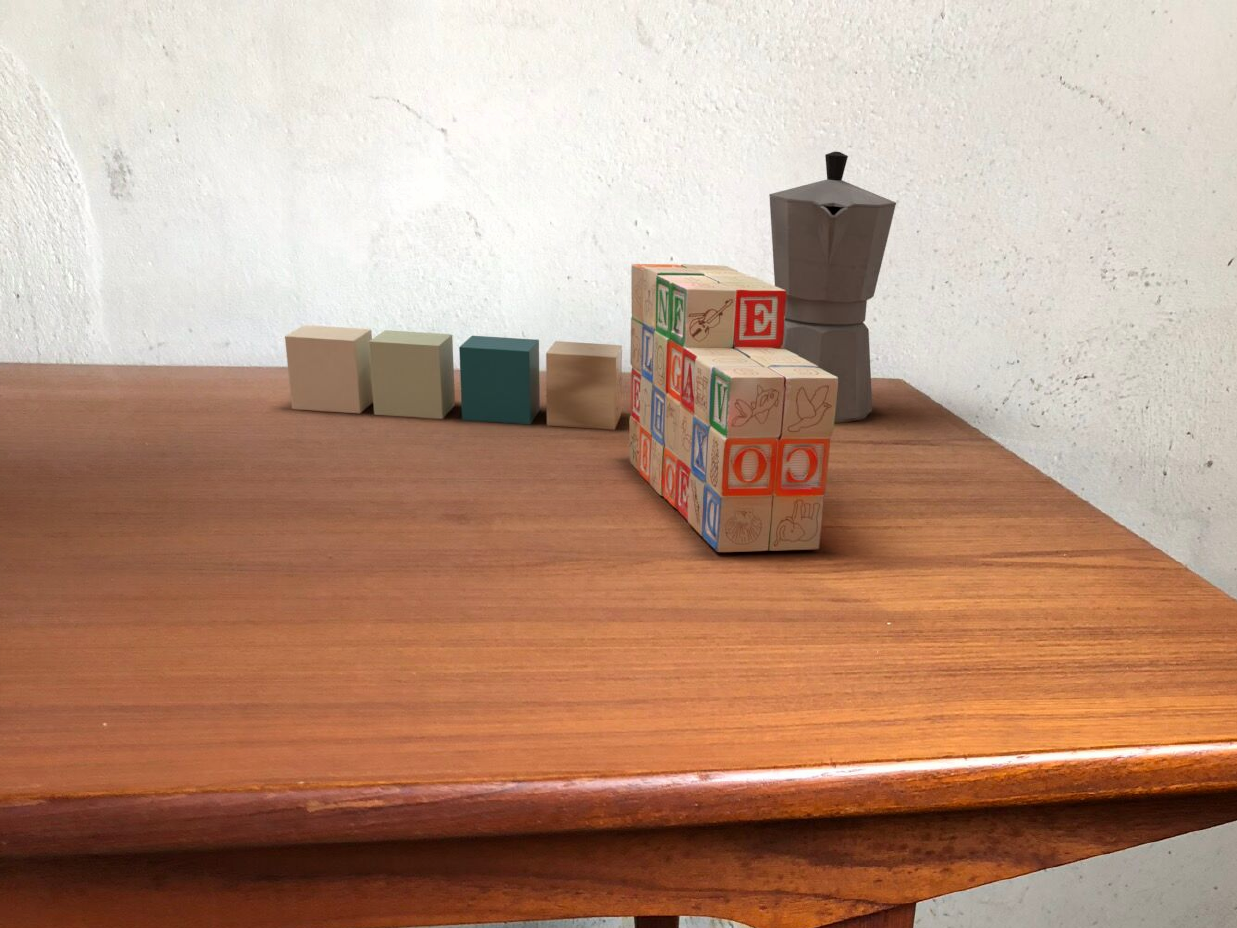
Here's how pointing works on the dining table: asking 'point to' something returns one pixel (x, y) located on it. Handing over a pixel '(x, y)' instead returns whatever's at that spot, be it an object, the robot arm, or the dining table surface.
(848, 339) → the coffeepot
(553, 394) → the block
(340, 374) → the block
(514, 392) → the teal block
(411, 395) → the block
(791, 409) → the stack of blocks
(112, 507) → the dining table surface
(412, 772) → the dining table surface
